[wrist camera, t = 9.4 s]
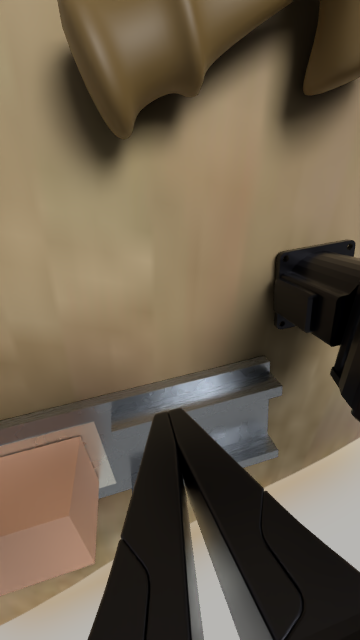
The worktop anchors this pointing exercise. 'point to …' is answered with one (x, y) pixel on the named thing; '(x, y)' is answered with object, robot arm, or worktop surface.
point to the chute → (137, 414)
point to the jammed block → (46, 513)
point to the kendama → (188, 47)
